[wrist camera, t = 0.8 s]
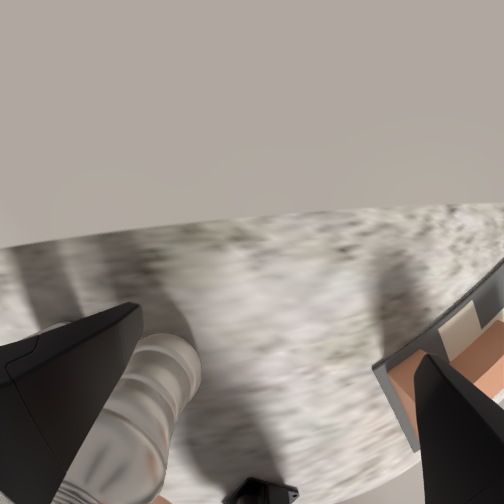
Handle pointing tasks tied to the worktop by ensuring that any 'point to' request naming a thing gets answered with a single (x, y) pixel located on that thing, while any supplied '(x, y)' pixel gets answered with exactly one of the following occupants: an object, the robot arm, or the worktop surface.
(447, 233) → the worktop surface
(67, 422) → the robot arm
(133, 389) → the plastic bottle
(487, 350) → the t block
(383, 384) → the mat
